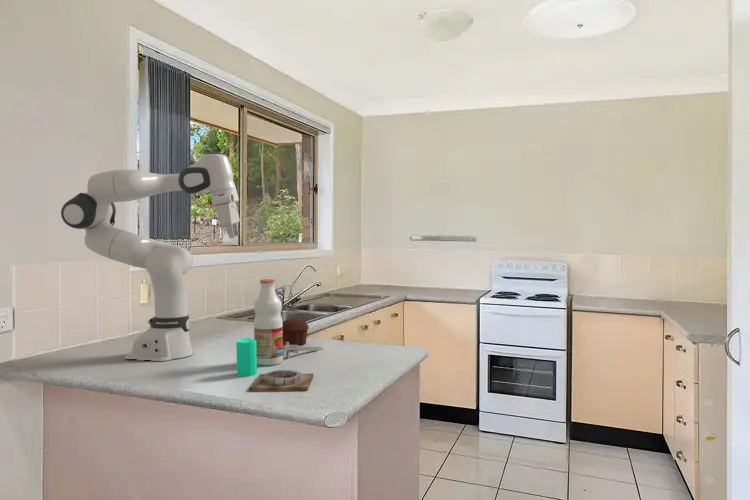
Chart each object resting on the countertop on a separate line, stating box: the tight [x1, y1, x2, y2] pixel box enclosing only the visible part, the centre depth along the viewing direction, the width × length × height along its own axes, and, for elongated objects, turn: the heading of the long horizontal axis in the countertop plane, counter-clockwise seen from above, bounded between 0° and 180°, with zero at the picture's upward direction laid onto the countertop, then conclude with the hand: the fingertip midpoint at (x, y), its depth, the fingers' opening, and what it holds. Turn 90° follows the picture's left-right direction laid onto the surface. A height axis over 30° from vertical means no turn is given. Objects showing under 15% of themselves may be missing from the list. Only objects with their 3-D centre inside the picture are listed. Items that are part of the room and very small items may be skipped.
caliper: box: [283, 342, 324, 361], centre depth 187 cm, size 20×1×6 cm, turn 144°
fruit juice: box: [253, 278, 284, 367], centre depth 175 cm, size 9×9×28 cm
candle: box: [235, 335, 258, 378], centre depth 161 cm, size 6×6×12 cm
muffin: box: [282, 317, 310, 346], centre depth 204 cm, size 12×11×10 cm
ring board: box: [248, 373, 314, 392], centre depth 150 cm, size 16×14×1 cm
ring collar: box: [264, 369, 302, 386], centre depth 150 cm, size 10×10×2 cm
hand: (234, 237), depth 184 cm, fingers open, 8 cm apart
